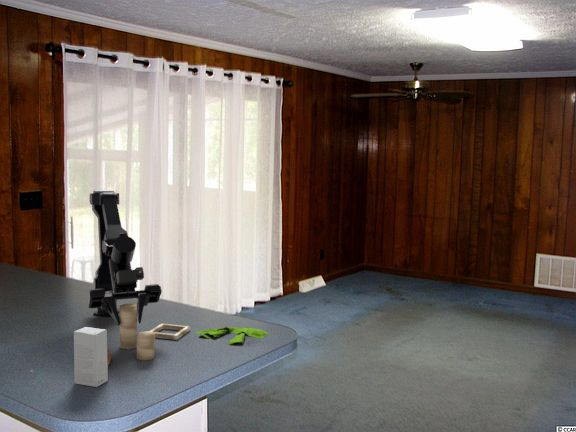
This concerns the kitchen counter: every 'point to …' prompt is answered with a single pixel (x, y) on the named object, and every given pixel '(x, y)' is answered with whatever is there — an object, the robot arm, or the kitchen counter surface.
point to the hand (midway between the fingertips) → (129, 323)
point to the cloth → (237, 339)
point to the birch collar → (173, 327)
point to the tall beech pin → (128, 326)
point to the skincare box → (90, 356)
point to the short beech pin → (145, 345)
